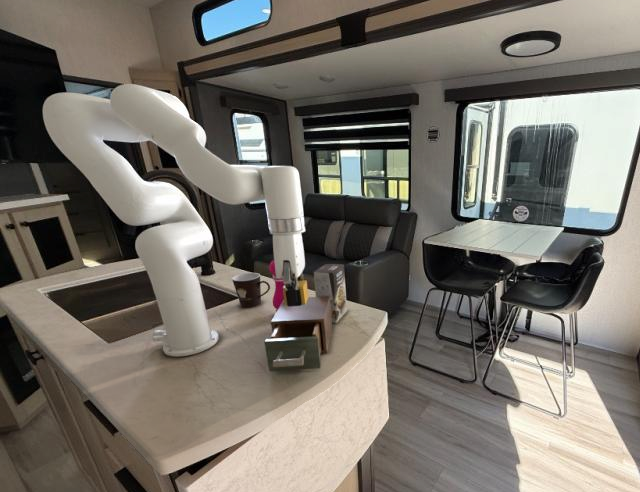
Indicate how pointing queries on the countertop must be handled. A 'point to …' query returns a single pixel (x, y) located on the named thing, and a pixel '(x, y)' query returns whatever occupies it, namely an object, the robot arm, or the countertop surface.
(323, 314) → the cabinet
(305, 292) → the block
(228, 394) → the countertop surface
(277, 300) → the pepper mill
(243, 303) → the coffee mug
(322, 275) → the coffee box
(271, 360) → the drawer
